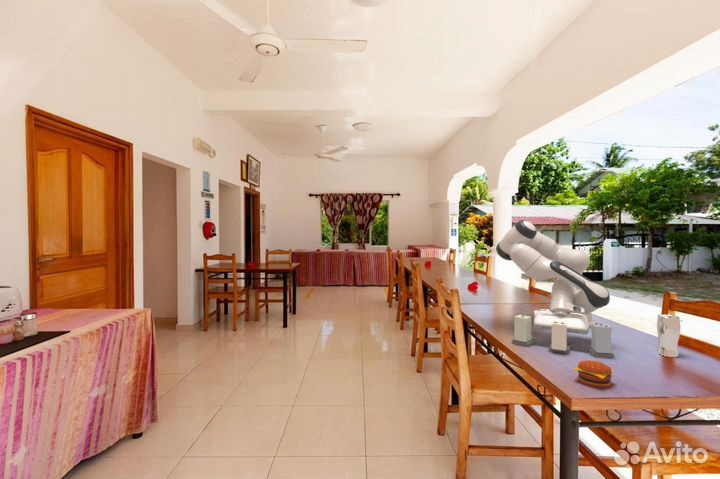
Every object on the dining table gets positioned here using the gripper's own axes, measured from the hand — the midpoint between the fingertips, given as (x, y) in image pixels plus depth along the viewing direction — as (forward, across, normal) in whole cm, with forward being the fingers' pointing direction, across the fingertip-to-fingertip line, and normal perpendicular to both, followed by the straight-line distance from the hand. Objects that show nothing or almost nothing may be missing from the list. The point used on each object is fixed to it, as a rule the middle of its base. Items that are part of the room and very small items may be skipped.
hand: (559, 339), depth 148 cm
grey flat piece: (+1, 0, +5) cm, 5 cm away
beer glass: (-8, +36, +14) cm, 40 cm away
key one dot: (+1, -14, +3) cm, 14 cm away
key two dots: (+4, 0, 0) cm, 4 cm away
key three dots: (+1, +14, +3) cm, 14 cm away
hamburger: (+24, +12, -17) cm, 32 cm away
